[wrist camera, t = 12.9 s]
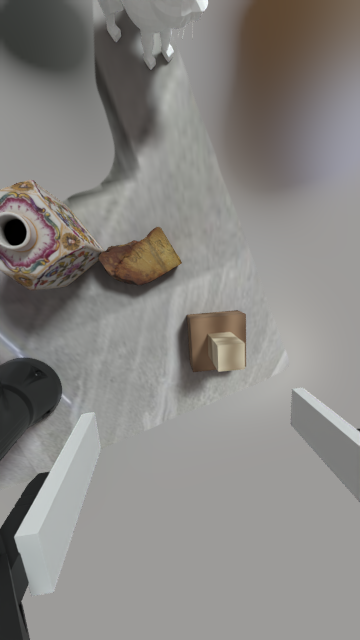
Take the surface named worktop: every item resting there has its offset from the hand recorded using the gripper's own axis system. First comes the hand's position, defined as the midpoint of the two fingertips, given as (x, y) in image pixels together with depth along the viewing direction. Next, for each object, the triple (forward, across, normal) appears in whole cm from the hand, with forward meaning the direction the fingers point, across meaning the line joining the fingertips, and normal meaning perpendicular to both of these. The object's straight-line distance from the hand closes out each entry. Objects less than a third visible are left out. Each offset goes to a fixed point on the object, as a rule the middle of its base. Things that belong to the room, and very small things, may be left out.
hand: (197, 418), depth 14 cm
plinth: (+37, +10, -6) cm, 39 cm away
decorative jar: (+37, -20, +16) cm, 45 cm away
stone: (+37, -5, +13) cm, 40 cm away
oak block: (+32, +10, -6) cm, 34 cm away
